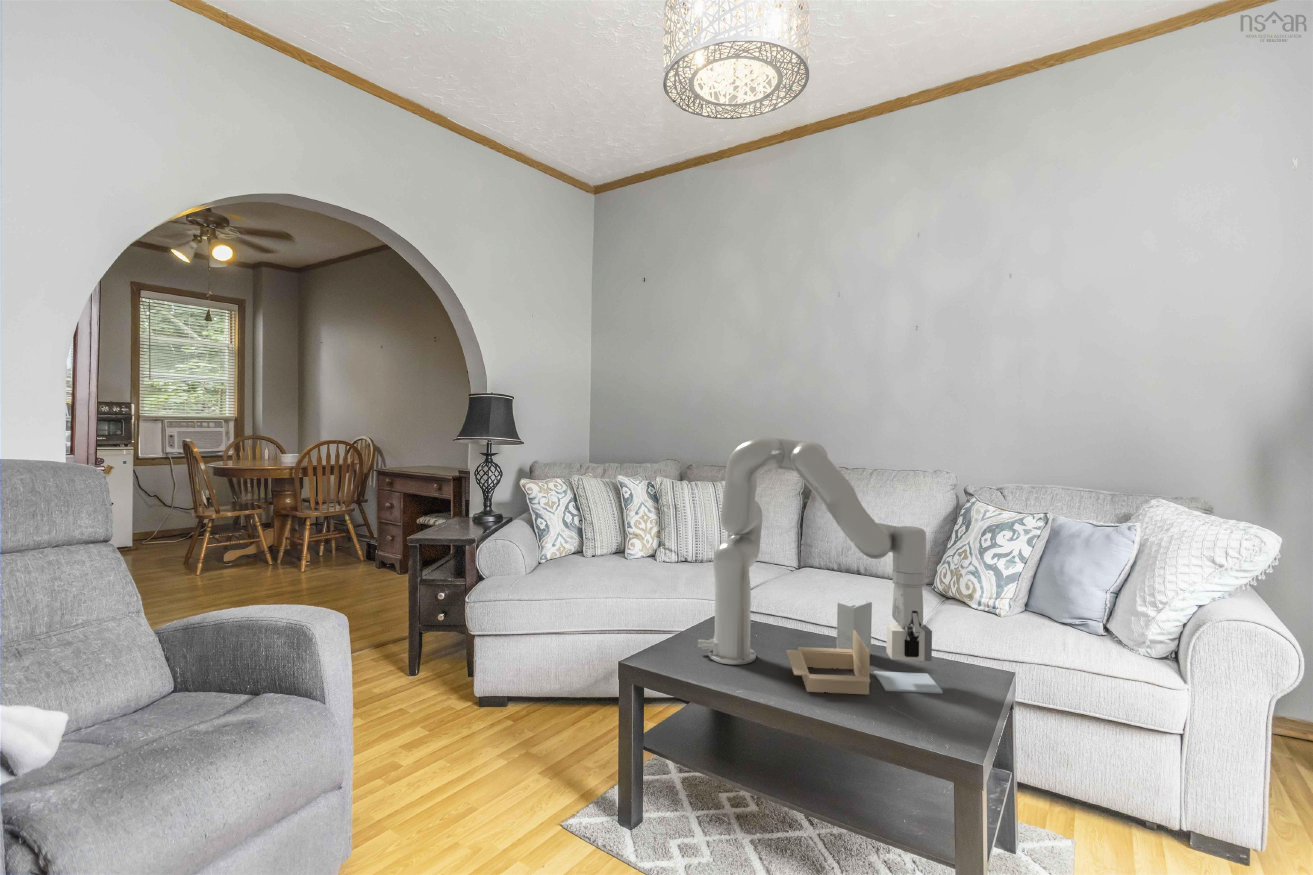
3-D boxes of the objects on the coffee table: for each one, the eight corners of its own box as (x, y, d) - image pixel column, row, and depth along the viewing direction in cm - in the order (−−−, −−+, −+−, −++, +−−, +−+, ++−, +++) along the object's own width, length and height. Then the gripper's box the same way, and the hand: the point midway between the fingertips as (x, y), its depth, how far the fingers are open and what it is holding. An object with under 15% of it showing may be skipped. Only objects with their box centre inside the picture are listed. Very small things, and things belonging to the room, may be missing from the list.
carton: (795, 695, 152) (795, 652, 152) (785, 662, 173) (786, 624, 173) (871, 698, 151) (872, 655, 151) (852, 665, 172) (852, 627, 171)
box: (891, 659, 158) (892, 629, 158) (886, 652, 163) (886, 623, 163) (931, 661, 157) (932, 631, 157) (924, 653, 162) (925, 624, 162)
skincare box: (853, 649, 184) (854, 596, 184) (872, 655, 179) (873, 600, 179) (835, 655, 179) (836, 601, 178) (854, 662, 174) (855, 606, 174)
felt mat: (885, 690, 155) (885, 688, 155) (874, 673, 166) (874, 671, 166) (942, 693, 154) (942, 691, 154) (927, 675, 165) (927, 673, 165)
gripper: (884, 569, 169) (883, 640, 169) (903, 586, 152) (902, 664, 152) (914, 570, 168) (913, 641, 168) (936, 586, 151) (935, 665, 151)
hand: (908, 651), depth 160 cm, fingers closed on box, 5 cm apart
